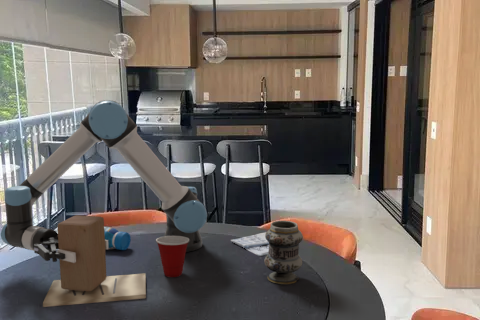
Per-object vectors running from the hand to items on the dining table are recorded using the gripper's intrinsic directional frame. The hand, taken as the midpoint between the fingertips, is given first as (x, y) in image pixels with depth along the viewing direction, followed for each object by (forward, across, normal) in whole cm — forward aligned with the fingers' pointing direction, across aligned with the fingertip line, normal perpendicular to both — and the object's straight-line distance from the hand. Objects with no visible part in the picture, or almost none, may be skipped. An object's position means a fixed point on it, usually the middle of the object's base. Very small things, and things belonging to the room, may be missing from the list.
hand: (91, 251), depth 139 cm
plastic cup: (+11, -24, -14) cm, 30 cm away
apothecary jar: (+44, -38, -14) cm, 59 cm away
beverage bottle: (-39, -32, -9) cm, 51 cm away
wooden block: (-4, 0, -11) cm, 12 cm away
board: (-1, -2, -13) cm, 14 cm away
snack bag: (+24, -64, -14) cm, 70 cm away
